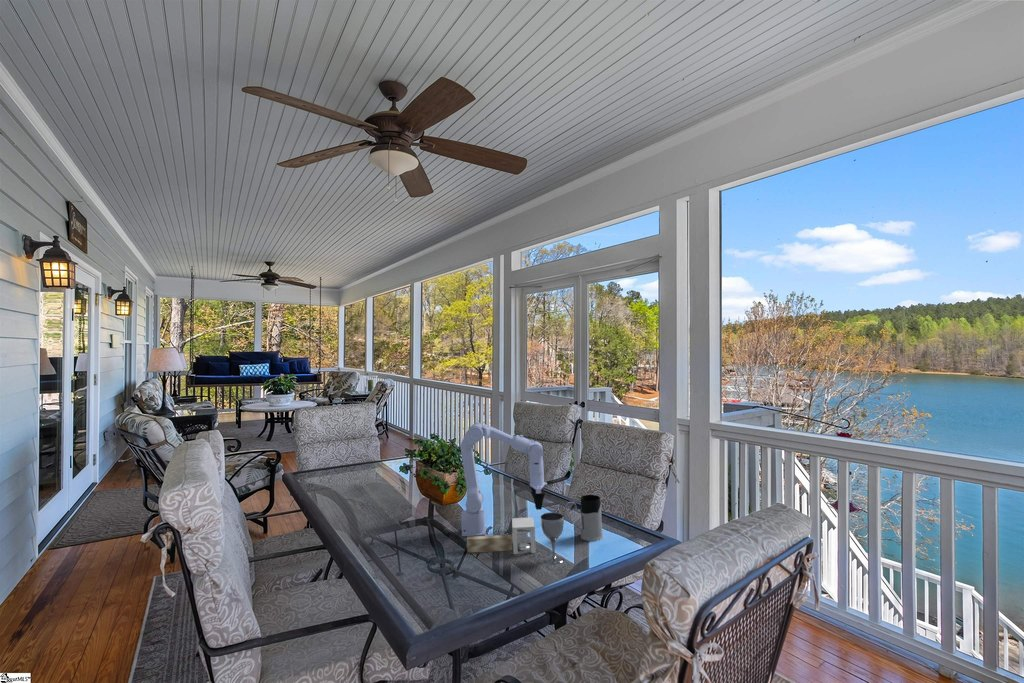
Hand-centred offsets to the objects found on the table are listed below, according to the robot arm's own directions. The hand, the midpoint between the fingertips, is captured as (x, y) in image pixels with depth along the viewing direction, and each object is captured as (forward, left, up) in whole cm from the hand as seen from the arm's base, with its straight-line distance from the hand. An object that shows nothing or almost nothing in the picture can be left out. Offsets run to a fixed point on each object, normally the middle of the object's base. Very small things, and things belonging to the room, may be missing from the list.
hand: (538, 506), depth 189 cm
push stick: (-19, -16, -10) cm, 27 cm away
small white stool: (-7, -16, -10) cm, 20 cm away
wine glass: (+3, -27, -10) cm, 29 cm away
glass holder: (+17, -9, -10) cm, 22 cm away
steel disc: (-7, -16, -10) cm, 20 cm away
